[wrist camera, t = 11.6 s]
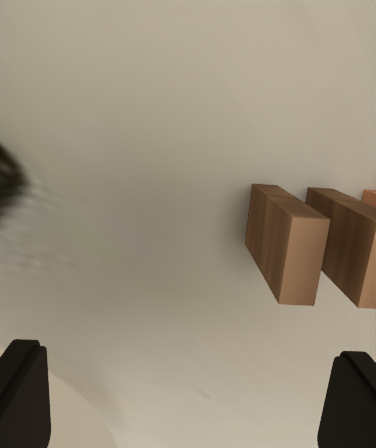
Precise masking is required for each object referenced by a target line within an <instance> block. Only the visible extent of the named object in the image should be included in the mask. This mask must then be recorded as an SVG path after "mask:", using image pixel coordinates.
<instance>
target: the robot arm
mask: <svg viewBox="0 0 376 448" xmlns="http://www.w3.org/2000/svg"><path fill="white" fill-rule="evenodd" d="M50 435H51V418H50V400H49V383H48V365H47V350H46V347H45V346H40V343H39V341H38V340H21V339H15V340H13V341H12V342H11V343H10V345H9V346H8V348H7V349H6V350H5V352H4V353H3V355H2V356H1V357H0V448H47V447H48V444H49V440H50ZM317 441H318V447H319V448H376V363H375V362H374V360H373V359H372V358H371V357H370V355H369V354H367V353H366V352H359V351H343V352H342V353H341V354H340V356H337V357H335V358H334V361H333V366H332V370H331V375H330V379H329V384H328V389H327V393H326V398H325V403H324V407H323V412H322V416H321V421H320V426H319V430H318V436H317Z"/></svg>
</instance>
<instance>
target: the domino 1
mask: <svg viewBox="0 0 376 448" xmlns="http://www.w3.org/2000/svg"><path fill="white" fill-rule="evenodd" d="M329 224H330V219H329V218H327V217H326V216H324V215H323V214H321V213H319V212H318V211H316V210H315V209H313V208H312V207H310V206H309V205H307V204H305V203H304V202H302V201H301V200H299V199H298V198H296V197H295V196H293V195H291V194H290V193H288V192H287V191H285V190H284V189H282V188H281V187H279V186H277V185H262V184H252V191H251V199H250V207H249V216H248V224H247V232H246V241H245V244H246V246H247V248H248V250H249V251H250V253H251V255H252V257H253V259H254V260H255V262H256V264H257V266H258V268H259V269H260V271H261V273H262V275H263V277H264V278H265V280H266V282H267V284H268V286H269V287H270V289H271V291H272V293H273V295H274V296H275V298H276V300H277V302H278V304H287V305H309V306H314V304H315V298H316V293H317V288H318V282H319V277H320V272H321V267H322V261H323V256H324V251H325V245H326V240H327V235H328V230H329Z"/></svg>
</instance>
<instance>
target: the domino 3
mask: <svg viewBox="0 0 376 448" xmlns="http://www.w3.org/2000/svg"><path fill="white" fill-rule="evenodd" d="M362 202H364V203H366V204H369V205H371V206H373V207H375V208H376V191H373V190H364V193H363V197H362Z"/></svg>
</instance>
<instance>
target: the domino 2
mask: <svg viewBox="0 0 376 448" xmlns="http://www.w3.org/2000/svg"><path fill="white" fill-rule="evenodd" d="M306 204H307V205H309V206H310V207H312V208H313V209H315V210H316V211H318V212H319V213H321V214H323V215H324V216H326V217H327V218H329V219H330V224H329V230H328V235H327V240H326V245H325V251H324V256H323V261H322V267H321V270H322V271H323V272H324V273H325V274H326V275H327V276H328V277H329V279H330V280H331V281H332V282H333V283H334V284H335V285H336V286H337V287H338V288H339V289H340V290H341V291H342V292H343V293H344V294H345V295H346V296H347V297H348V298H349V299H350V300H351V301H352V302H353V303H354V304H355V305H356V306H357V307H358V308H372V309H376V208H375V207H373V206H371V205H369V204H366V203H364V202H362V201H359V200H357V199H355V198H353V197H350V196H348V195H346V194H343V193H341V192H339V191H336V190H334V189H326V188H310V187H308V192H307V198H306Z"/></svg>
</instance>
